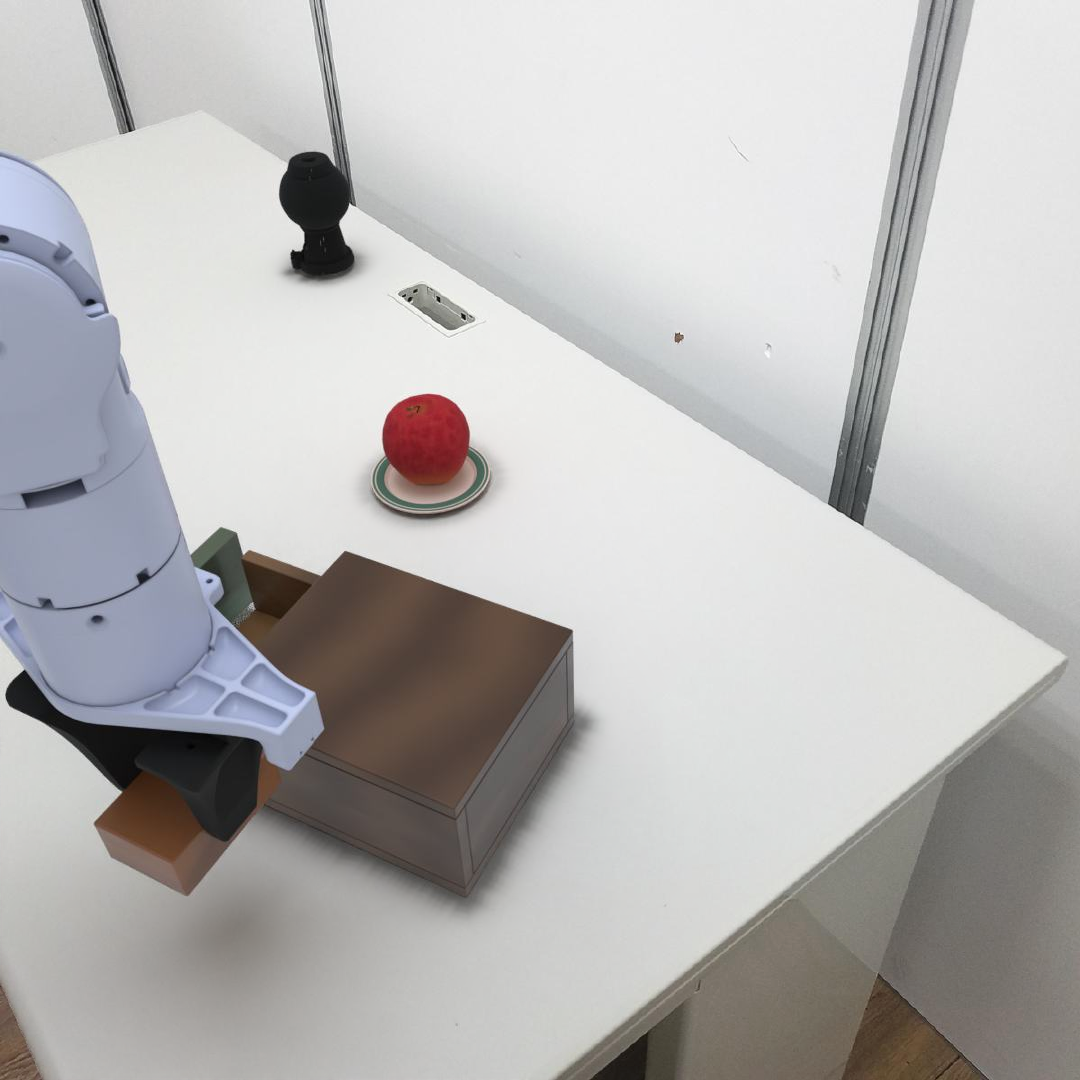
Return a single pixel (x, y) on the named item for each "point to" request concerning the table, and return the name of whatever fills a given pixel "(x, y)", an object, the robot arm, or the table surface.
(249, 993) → the table surface
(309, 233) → the gumball machine
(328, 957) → the table surface
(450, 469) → the red apple on plate
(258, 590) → the drawer
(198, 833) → the brown rectangular block
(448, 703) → the cabinet
